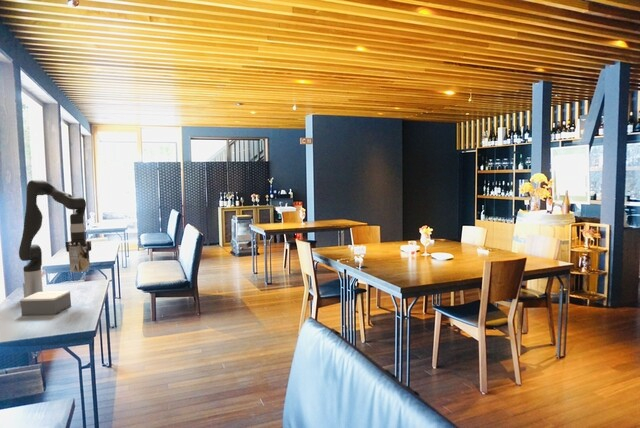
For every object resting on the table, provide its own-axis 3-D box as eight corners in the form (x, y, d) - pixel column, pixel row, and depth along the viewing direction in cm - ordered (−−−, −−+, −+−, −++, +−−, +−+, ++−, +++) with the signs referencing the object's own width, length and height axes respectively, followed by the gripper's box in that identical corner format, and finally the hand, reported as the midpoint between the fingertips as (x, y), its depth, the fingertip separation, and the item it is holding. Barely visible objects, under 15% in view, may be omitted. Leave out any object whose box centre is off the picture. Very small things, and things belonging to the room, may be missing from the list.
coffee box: (81, 269, 266) (79, 243, 265) (90, 269, 265) (88, 243, 264) (69, 272, 257) (67, 245, 256) (79, 272, 256) (77, 245, 255)
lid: (20, 301, 239) (20, 299, 239) (38, 293, 255) (38, 291, 255) (54, 300, 239) (54, 298, 239) (70, 292, 255) (70, 290, 255)
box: (21, 315, 239) (20, 301, 239) (39, 307, 255) (38, 293, 255) (55, 314, 240) (54, 300, 239) (71, 306, 256) (70, 292, 255)
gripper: (93, 230, 263) (94, 257, 265) (68, 230, 263) (70, 257, 264) (86, 231, 256) (88, 259, 257) (61, 232, 255) (63, 260, 257)
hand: (79, 258), depth 261 cm, fingers closed on coffee box, 7 cm apart
